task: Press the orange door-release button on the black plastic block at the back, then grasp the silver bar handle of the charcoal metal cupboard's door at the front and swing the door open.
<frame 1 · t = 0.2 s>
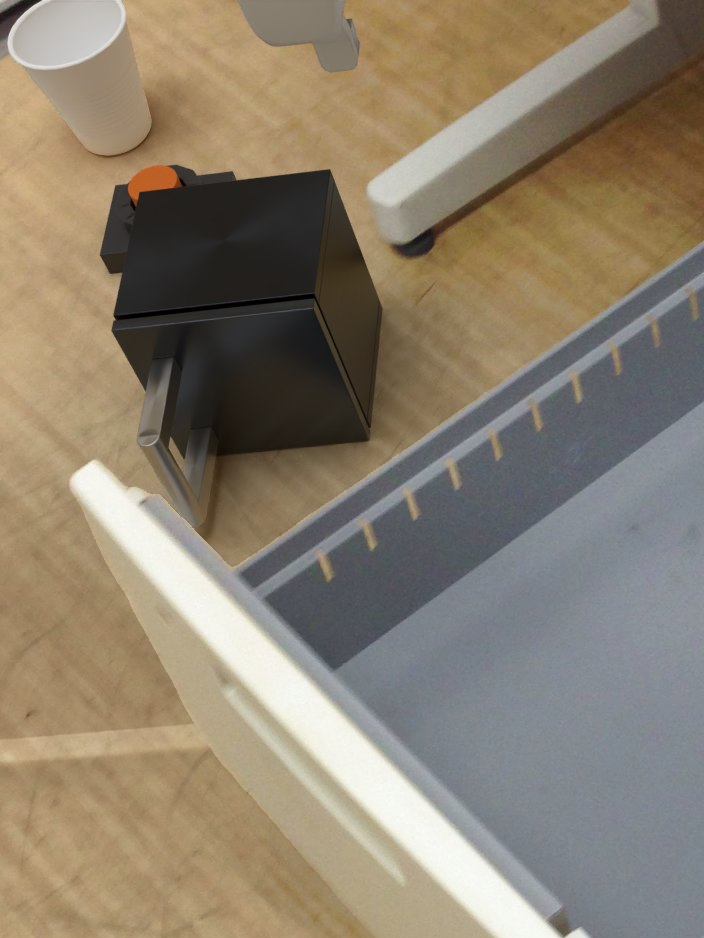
release block: (176, 232, 146), on the table
cupboard door: (239, 425, 123), point 7 cm above the table, hinge at 0.0°
cup: (119, 135, 154), on the table
cupboard: (286, 376, 135), on the table
release button: (156, 191, 142), point 4 cm above the table, slide at 0.1 cm
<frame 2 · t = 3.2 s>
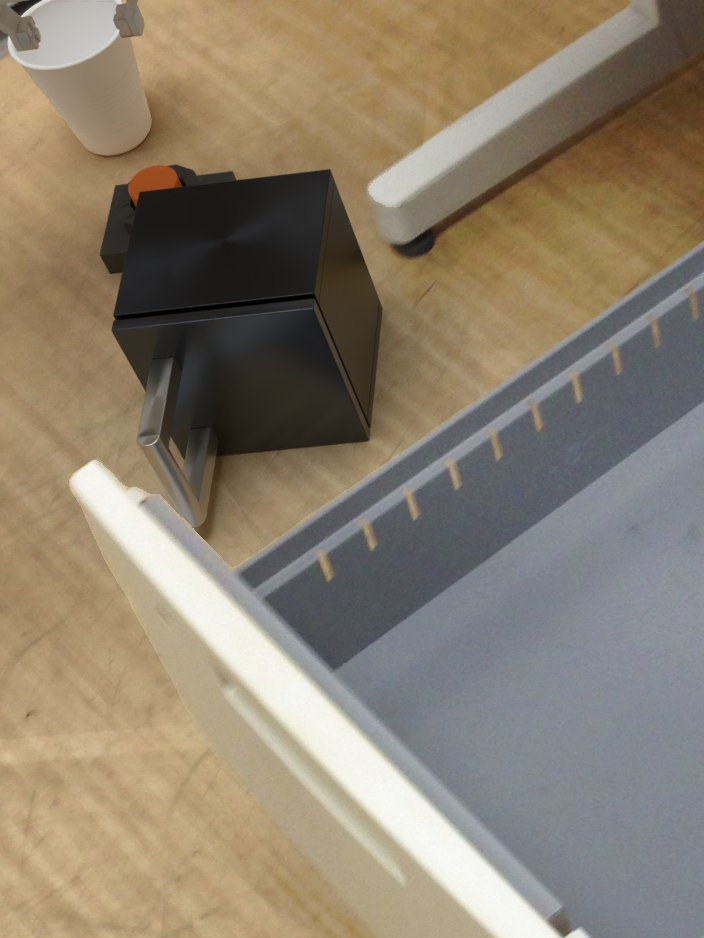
hand: (81, 38, 130), 19 cm above the table, tool pointing down, fingers open, 6 cm apart
nothing on the table moved.
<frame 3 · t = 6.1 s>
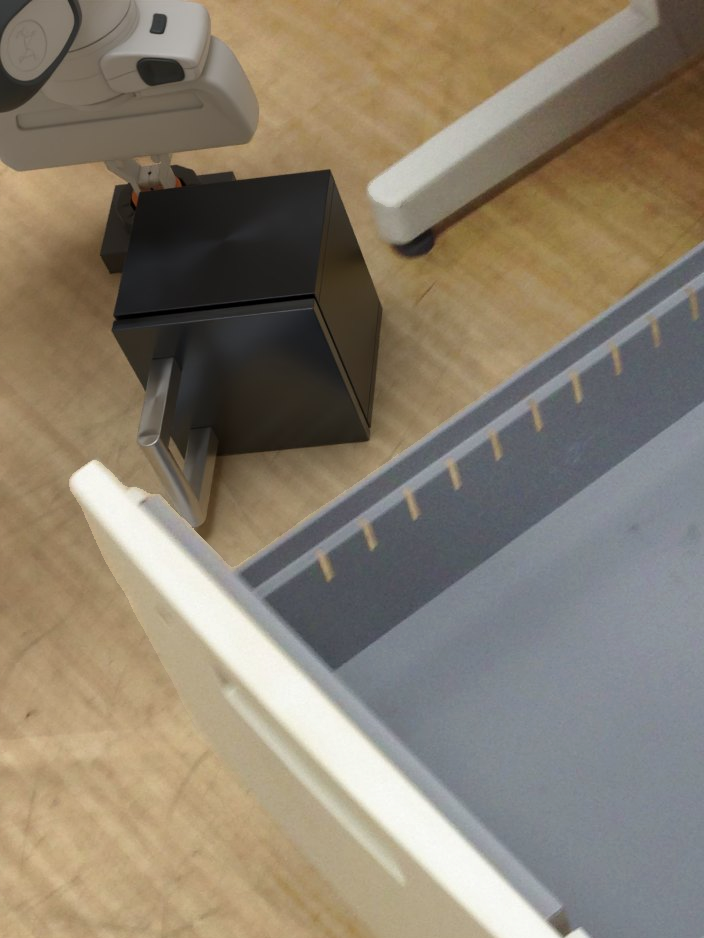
hand: (157, 190, 142), 5 cm above the table, tool pointing down, fingers closed, pressing on release button
release button: (160, 199, 143), point 4 cm above the table, slide at -0.8 cm, touching gripper
everything else where it was.
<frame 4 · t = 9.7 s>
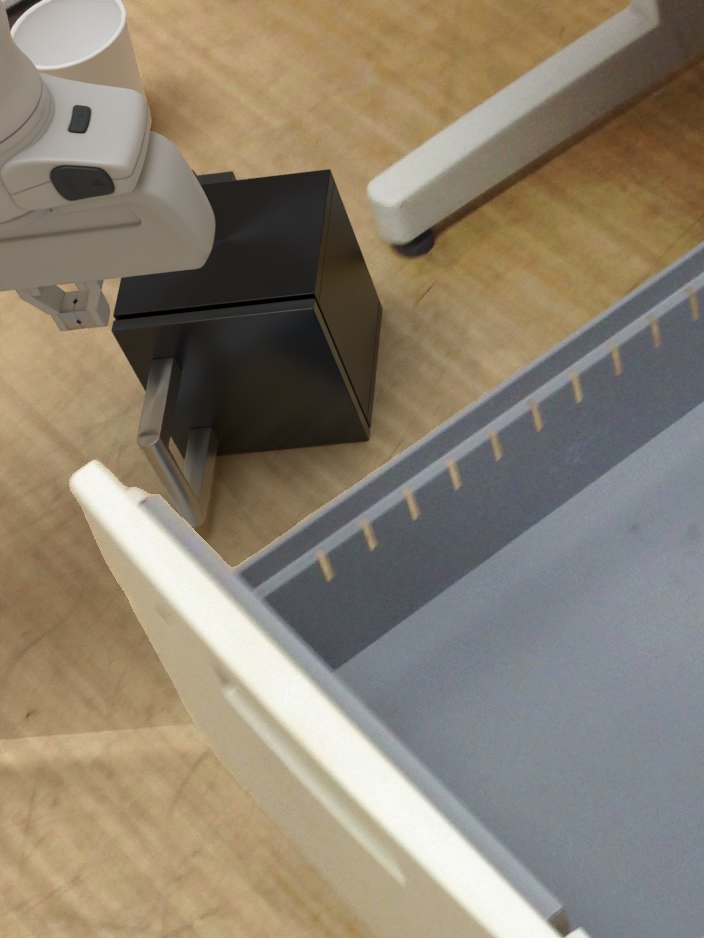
hand: (86, 321, 111), 21 cm above the table, tool pointing down, fingers closed
release button: (156, 191, 142), point 4 cm above the table, slide at 0.1 cm
everything else where it was.
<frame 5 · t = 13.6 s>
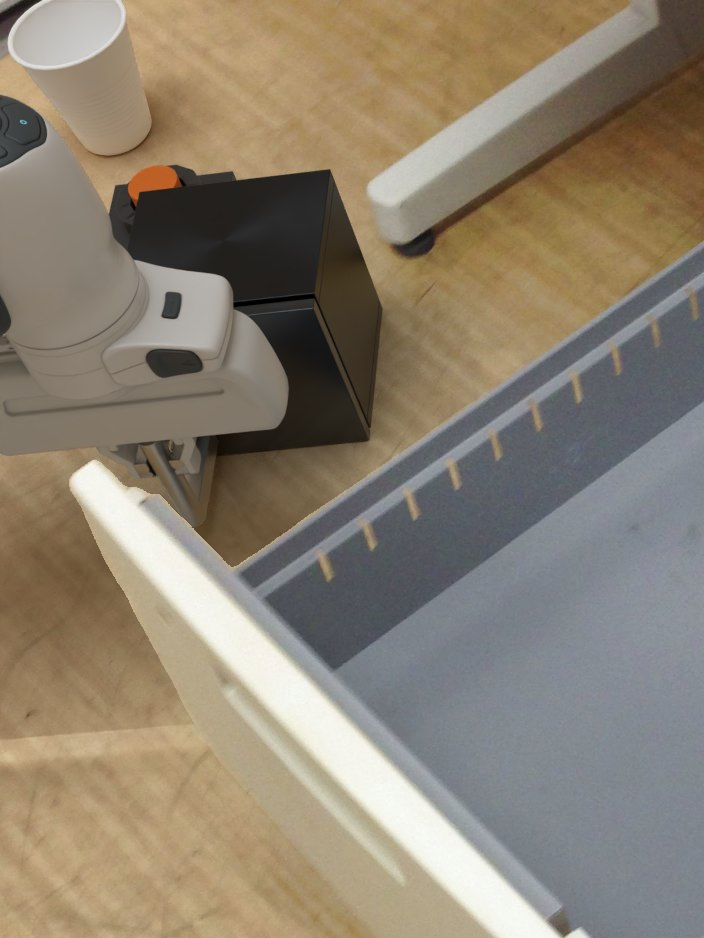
hand: (169, 468, 122), 7 cm above the table, tool pointing down, fingers closed on cupboard door, 2 cm apart
cupboard door: (239, 425, 123), point 7 cm above the table, hinge at 0.0°, touching gripper
everything else where it was.
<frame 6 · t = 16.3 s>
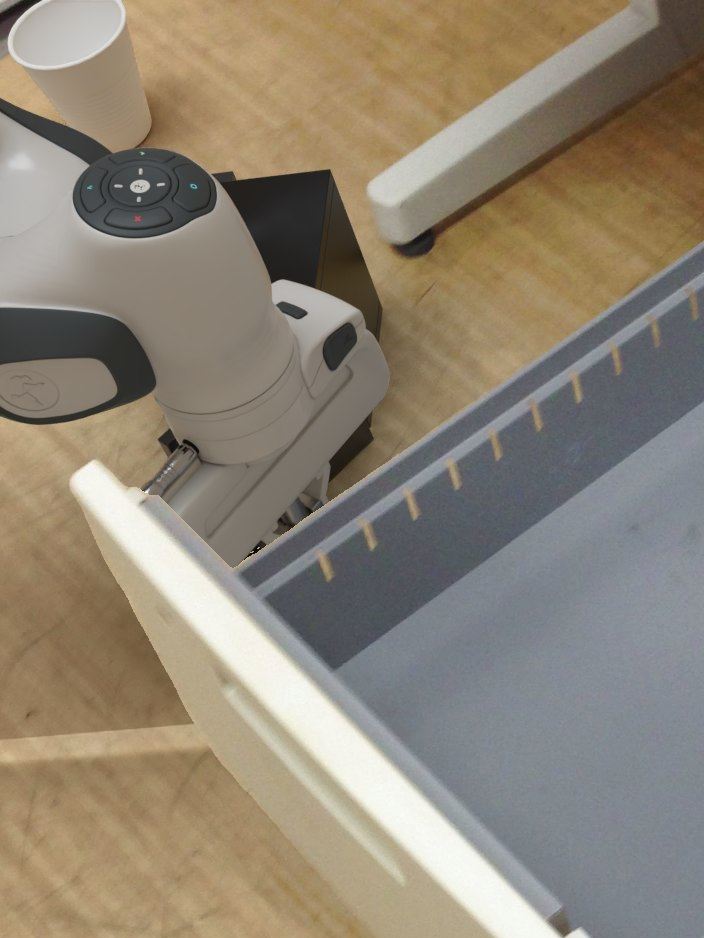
hand: (301, 530, 117), 7 cm above the table, tool pointing down, fingers closed, pressing on cupboard door
cupboard door: (312, 462, 120), point 7 cm above the table, hinge at 50.5°, touching gripper
everything else where it was.
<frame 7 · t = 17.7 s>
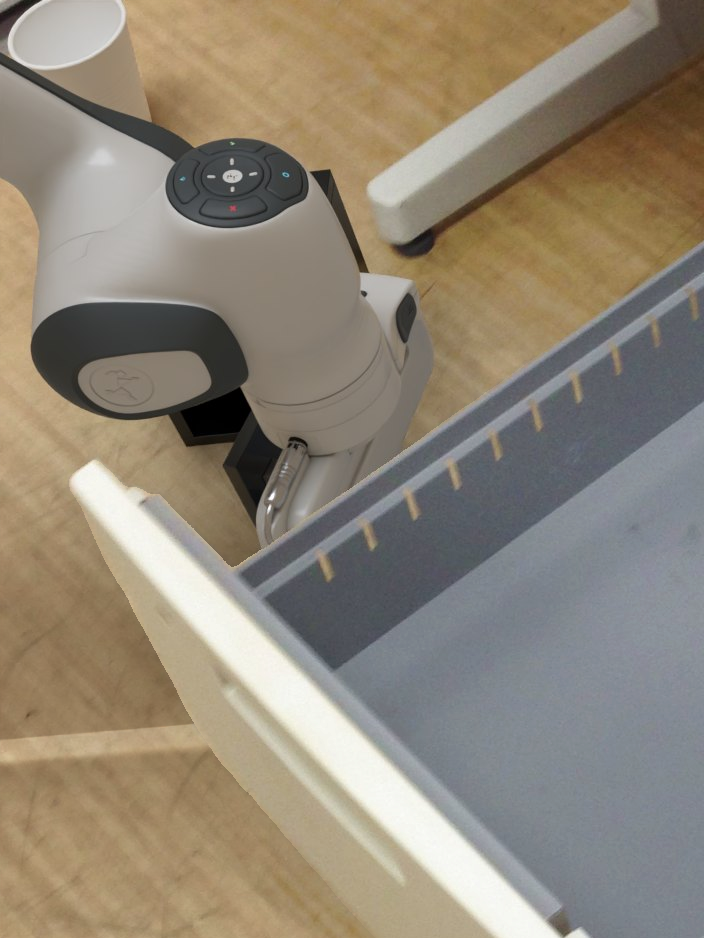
hand: (383, 521, 117), 7 cm above the table, tool pointing down, fingers closed
cupboard door: (356, 458, 120), point 7 cm above the table, hinge at 72.5°
everything else where it was.
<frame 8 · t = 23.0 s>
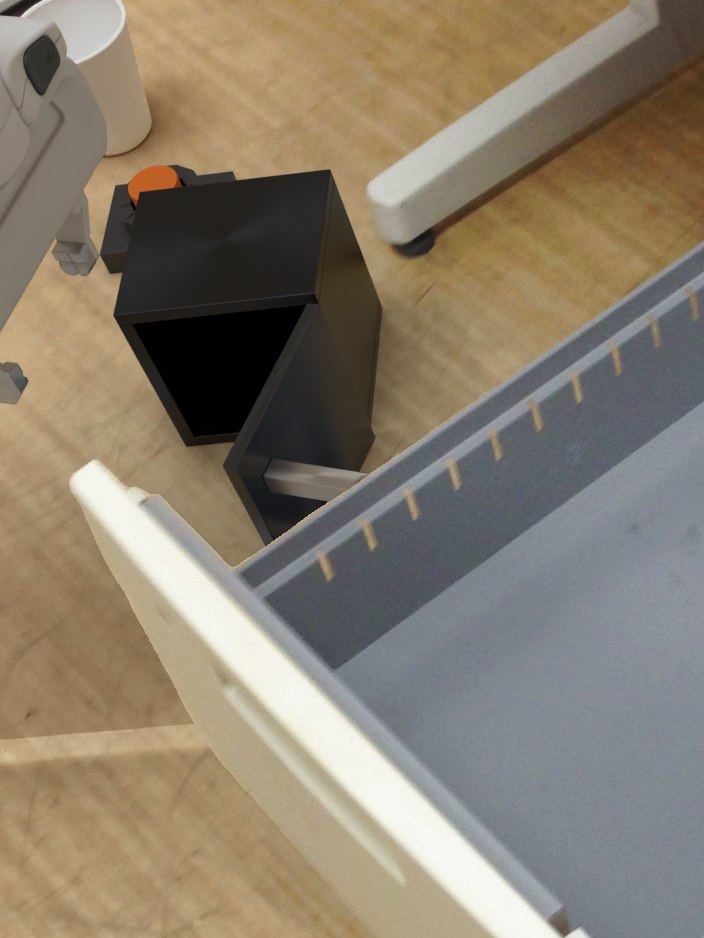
hand: (48, 328, 99), 29 cm above the table, tool pointing down, fingers open, 8 cm apart
nothing on the table moved.
at the end: release button pushed in 1.1 cm at the most during the clip, back to where it started at the end; release button slide at 0.1 cm; cupboard door at +72° (first picture: +0°) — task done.
